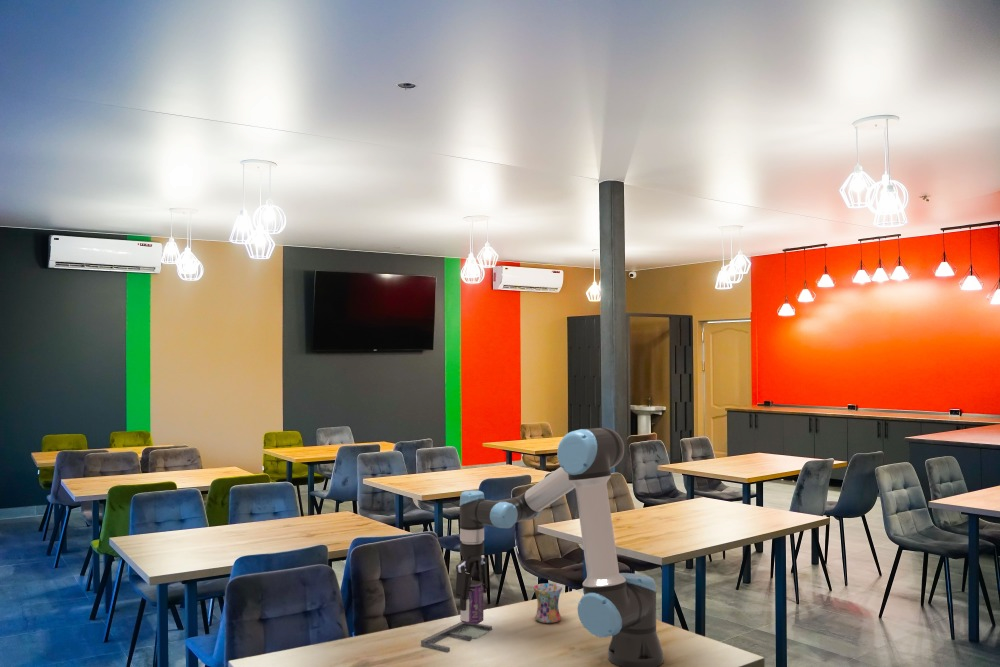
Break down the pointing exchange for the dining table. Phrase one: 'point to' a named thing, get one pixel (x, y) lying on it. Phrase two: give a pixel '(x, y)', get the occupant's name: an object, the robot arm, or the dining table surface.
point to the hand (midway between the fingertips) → (471, 617)
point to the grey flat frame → (456, 635)
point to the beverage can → (475, 603)
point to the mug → (547, 602)
